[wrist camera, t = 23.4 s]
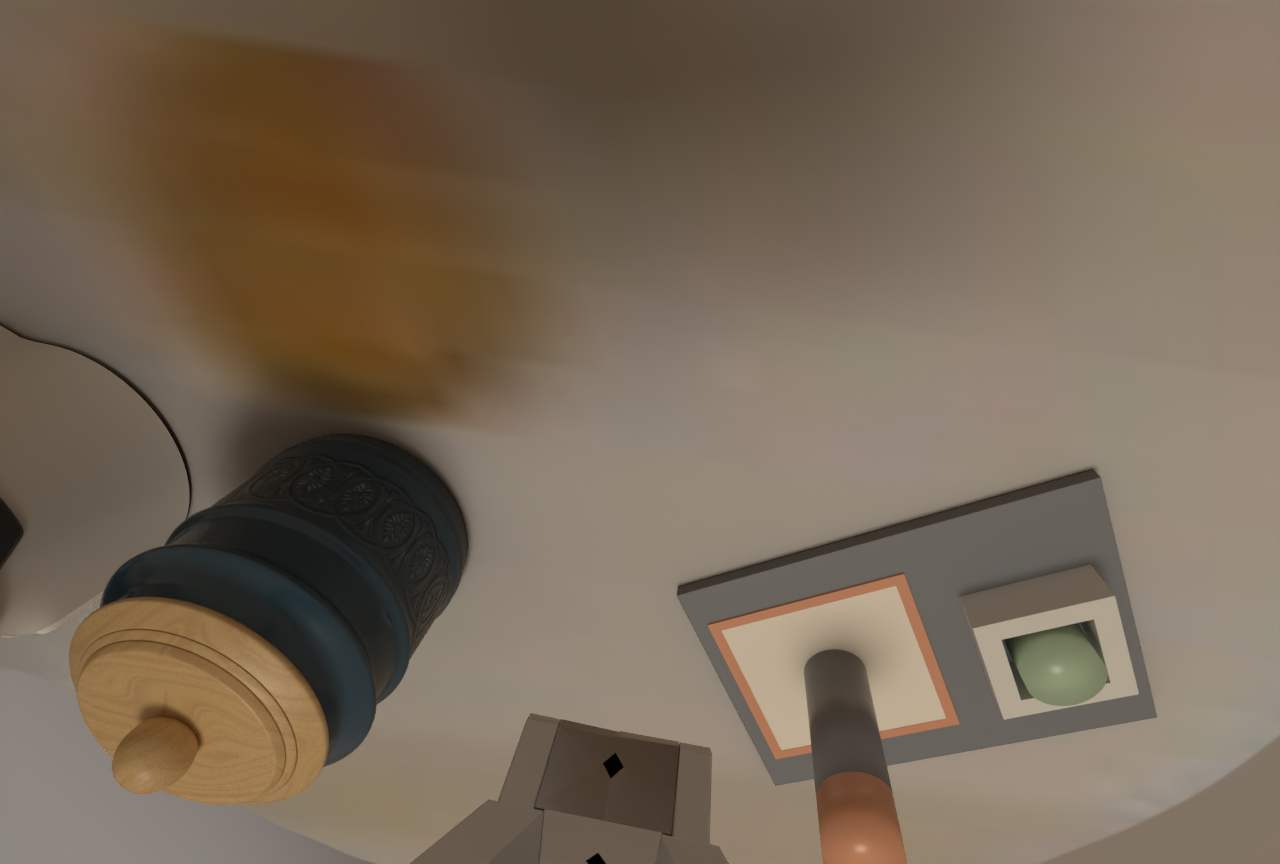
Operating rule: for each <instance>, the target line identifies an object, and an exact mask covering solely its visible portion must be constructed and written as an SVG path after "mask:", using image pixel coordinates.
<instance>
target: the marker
mask: <svg viewBox="0 0 1280 864" xmlns="http://www.w3.org/2000/svg"><path fill="white" fill-rule="evenodd" d="M804 679H805V689H806V699H807V709H808V719H809V729H810V739H811V749H812V759H813V769H814V779H815V789H816V799H817V809H818V820H819V830H820V840H821V850H822V859H823V864H907V859H906V854H905V849H904V845H903V840H902V835H901V831H900V826H899V821H898V817H897V812H896V807H895V803H894V798H893V793H892V789H891V784H890V779H889V774H888V770H887V765H886V760H885V756H884V751H883V746H882V742H881V737H880V732H879V728H878V723H877V718H876V714H875V709H874V704H873V700H872V695H871V690H870V686H869V681H868V676H867V672H866V668H865V665H864V663H863V662H862V661H861V659H860V658H858V657H857V656H856V655H854V654H852V653H850V652H847V651H844V650H837V649H832V650H825V651H821V652H819V653H817V654H815V655H814V656H812V657H811V658H810V659H809V660H808V661H807V663H806V665H805V667H804Z"/></svg>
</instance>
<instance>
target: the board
mask: <svg viewBox="0 0 1280 864" xmlns="http://www.w3.org/2000/svg"><path fill="white" fill-rule="evenodd" d="M677 597H678V599H679V601H680V603H681V605H682V607H683V609H684V611H685V613H686V615H687V616H688V618H689V620H690V622H691V624H692V626H693V628H694V630H695V632H696V634H697V636H698V638H699V640H700V641H701V643H702V645H703V647H704V649H705V651H706V653H707V655H708V657H709V659H710V661H711V663H712V665H713V667H714V668H715V670H716V672H717V674H718V676H719V678H720V680H721V682H722V684H723V686H724V688H725V690H726V692H727V694H728V695H729V697H730V699H731V701H732V703H733V705H734V707H735V709H736V711H737V713H738V715H739V717H740V719H741V720H742V722H743V724H744V726H745V728H746V730H747V732H748V734H749V736H750V738H751V740H752V742H753V744H754V746H755V747H756V749H757V751H758V753H759V755H760V757H761V759H762V761H763V763H764V765H765V767H766V769H767V771H768V772H769V774H770V776H771V778H772V780H773V782H774V784H775V786H776V785H782V784H788V783H793V782H799V781H804V780H810V779H814V769H813V759H812V749H811V739H810V729H809V719H808V709H807V699H806V689H805V679H804V667H805V665H806V663H807V661H808V660H809V659H810V658H811V657H812V656H814V655H815V654H817V653H819V652H821V651H825V650H832V649H837V650H844V651H847V652H850V653H852V654H854V655H856V656H857V657H858V658H860V659H861V661H862V662H863V663H864V665H865V668H866V672H867V676H868V681H869V686H870V690H871V695H872V700H873V704H874V709H875V714H876V718H877V723H878V728H879V732H880V737H881V742H882V746H883V751H884V756H885V760H886V765H887V766H888V765H894V764H899V763H905V762H910V761H916V760H922V759H927V758H933V757H938V756H944V755H950V754H955V753H961V752H966V751H972V750H977V749H983V748H989V747H994V746H1000V745H1005V744H1011V743H1016V742H1022V741H1028V740H1033V739H1039V738H1044V737H1050V736H1056V735H1061V734H1067V733H1072V732H1078V731H1083V730H1089V729H1095V728H1100V727H1106V726H1111V725H1117V724H1123V723H1128V722H1134V721H1139V720H1145V719H1150V718H1156V717H1157V715H1156V711H1155V706H1154V702H1153V698H1152V694H1151V689H1150V685H1149V681H1148V677H1147V672H1146V668H1145V664H1144V660H1143V655H1142V651H1141V647H1140V643H1139V638H1138V634H1137V630H1136V626H1135V621H1134V617H1133V613H1132V609H1131V604H1130V600H1129V596H1128V592H1127V587H1126V583H1125V579H1124V575H1123V570H1122V566H1121V562H1120V558H1119V554H1118V549H1117V545H1116V541H1115V537H1114V532H1113V528H1112V524H1111V520H1110V515H1109V511H1108V507H1107V503H1106V498H1105V494H1104V490H1103V486H1102V481H1101V477H1100V476H1099V475H1098V474H1097V473H1096V472H1095V471H1094V470H1090V471H1086V472H1082V473H1079V474H1075V475H1072V476H1068V477H1065V478H1061V479H1058V480H1054V481H1051V482H1047V483H1044V484H1040V485H1037V486H1033V487H1030V488H1026V489H1023V490H1019V491H1015V492H1012V493H1008V494H1005V495H1001V496H998V497H994V498H991V499H987V500H984V501H980V502H977V503H973V504H970V505H966V506H963V507H959V508H955V509H952V510H948V511H945V512H941V513H938V514H934V515H931V516H927V517H924V518H920V519H917V520H913V521H910V522H906V523H903V524H899V525H895V526H892V527H888V528H885V529H881V530H878V531H874V532H871V533H867V534H864V535H860V536H857V537H853V538H850V539H846V540H843V541H839V542H836V543H832V544H828V545H825V546H821V547H818V548H814V549H811V550H807V551H804V552H800V553H797V554H793V555H790V556H786V557H783V558H779V559H776V560H772V561H768V562H765V563H761V564H758V565H754V566H751V567H747V568H744V569H740V570H737V571H733V572H730V573H726V574H723V575H719V576H716V577H712V578H709V579H705V580H701V581H698V582H694V583H691V584H687V585H684V586H680V587H678V591H677ZM1075 623H1078V625H1079V627H1080V628H1081V630H1082V631H1083V633H1084V634H1085V636H1086V637H1087V639H1088V640H1089V642H1090V643H1091V645H1092V646H1093V648H1094V649H1095V651H1096V653H1097V654H1098V656H1099V657H1100V659H1101V660H1102V662H1103V663H1104V665H1105V667H1106V669H1107V681H1106V683H1105V686H1104V687H1103V689H1102V690H1101V691H1100V692H1099V693H1098V694H1097V695H1096V696H1094V697H1093V698H1091V699H1089V700H1087V701H1085V702H1083V703H1080V704H1076V705H1070V706H1054V705H1049V704H1046V703H1043V702H1041V701H1039V700H1037V699H1035V698H1034V697H1033V696H1032V695H1031V694H1030V693H1029V691H1028V690H1027V688H1026V686H1025V684H1024V682H1023V680H1022V678H1021V675H1020V673H1019V671H1018V669H1017V667H1016V665H1015V663H1014V661H1013V659H1012V657H1011V655H1010V653H1009V651H1008V649H1007V647H1006V645H1005V641H1004V639H1008V638H1012V637H1017V636H1021V635H1026V634H1030V633H1035V632H1039V631H1044V630H1048V629H1053V628H1057V627H1061V626H1066V625H1070V624H1075Z"/></svg>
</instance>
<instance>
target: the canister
mask: <svg viewBox="0 0 1280 864" xmlns="http://www.w3.org/2000/svg"><path fill="white" fill-rule="evenodd" d="M466 557H467V535H466V530H465V525H464V522H463V519H462V516H461V513H460V511H459V509H458V507H457V505H456V503H455V501H454V499H453V498H452V496H451V495H450V493H449V492H448V490H447V489H446V488H445V486H444V485H443V484H442V483H441V481H440V480H439V479H438V478H437V477H436V476H435V475H434V474H433V473H432V472H431V471H430V470H429V469H428V468H427V467H425V466H424V465H423V464H422V463H420V462H419V461H418V460H416V459H415V458H414V457H412V456H411V455H409V454H407V453H406V452H404V451H402V450H400V449H398V448H397V447H394V446H392V445H390V444H388V443H385V442H382V441H380V440H376V439H373V438H369V437H365V436H359V435H351V434H334V435H326V436H321V437H317V438H314V439H311V440H309V441H307V442H303V443H300V444H297V445H294V446H292V447H290V448H288V449H286V450H284V451H282V452H281V453H279V454H278V455H277V456H275V457H274V458H272V459H270V460H269V461H268V462H266V463H265V464H264V465H263V466H262V467H261V468H260V469H259V470H258V471H257V472H256V473H255V475H254V476H253V477H252V478H250V479H249V480H247V481H246V482H245V483H243V484H242V485H240V486H239V487H238V488H236V489H235V490H233V491H232V492H231V493H229V494H228V495H226V496H225V497H224V498H222V499H221V500H219V501H218V502H217V503H215V504H214V505H212V506H211V507H210V508H207V509H204V510H202V511H200V512H197V513H195V514H194V515H192V516H190V517H188V518H187V519H186V520H184V521H183V522H182V523H181V524H180V525H179V526H178V527H176V528H175V530H174V531H173V532H172V533H171V535H170V536H169V538H168V539H167V541H166V543H165V545H164V546H161V547H156V548H153V549H150V550H147V551H144V552H142V553H140V554H138V555H136V556H134V557H133V558H131V559H129V560H128V561H126V562H125V563H124V564H122V565H121V566H120V567H119V568H118V569H117V570H116V571H115V573H114V574H113V575H112V577H111V578H110V580H109V581H108V583H107V584H106V587H105V589H104V591H103V594H102V598H101V603H100V608H99V609H97V610H96V611H94V612H93V613H91V614H90V615H89V616H88V617H87V618H86V619H85V620H84V621H83V622H82V623H81V624H80V626H79V627H78V629H77V630H76V632H75V634H74V636H73V638H72V642H71V645H70V652H69V665H70V672H71V677H72V681H73V684H74V687H75V689H76V692H77V697H78V703H79V707H80V711H81V714H82V716H83V718H84V721H85V723H86V725H87V726H88V728H89V730H90V731H91V733H92V734H93V736H94V737H95V739H96V740H97V741H98V742H99V743H100V745H101V746H102V747H103V748H104V749H105V750H106V751H107V752H108V753H109V754H110V755H111V756H112V757H113V761H112V771H113V776H114V778H115V780H116V781H117V782H118V783H119V784H120V786H122V787H123V788H124V789H126V790H128V791H130V792H133V793H137V794H150V793H154V792H158V791H161V790H162V791H165V792H167V793H169V794H172V795H175V796H178V797H180V798H184V799H187V800H191V801H195V802H200V803H206V804H217V805H225V804H226V805H227V804H236V803H245V804H260V803H269V802H275V801H280V800H283V799H286V798H289V797H292V796H294V795H296V794H298V793H300V792H301V791H303V790H304V789H306V788H307V787H308V786H309V785H310V784H311V783H312V782H313V781H314V780H315V779H316V778H317V777H318V775H319V774H320V772H321V771H322V769H323V767H325V766H328V765H331V764H333V763H335V762H337V761H339V760H341V759H343V758H345V757H346V756H348V755H349V754H350V753H352V752H353V751H354V750H355V749H356V748H357V747H358V746H359V745H360V744H361V743H362V742H363V740H364V739H365V737H366V736H367V734H368V732H369V730H370V728H371V726H372V724H373V721H374V717H375V713H376V705H377V704H378V703H380V702H381V701H383V700H384V699H385V698H387V697H388V696H389V695H390V694H391V693H392V692H393V691H394V690H395V688H396V687H397V686H398V685H399V683H400V682H401V680H402V678H403V676H404V674H405V672H406V670H407V667H408V664H409V660H410V658H411V657H412V655H413V654H414V652H415V650H416V649H417V647H418V646H419V644H420V642H421V641H422V639H423V638H424V636H425V634H426V633H427V631H428V630H429V628H430V627H431V625H432V623H433V622H434V620H435V619H436V618H437V617H438V616H439V615H440V614H441V613H442V612H443V611H444V610H445V609H446V607H447V606H448V604H449V602H450V600H451V599H452V597H453V596H454V594H455V592H456V590H457V588H458V586H459V583H460V580H461V577H462V572H463V569H464V566H465V562H466Z"/></svg>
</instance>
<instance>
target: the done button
mask: <svg viewBox="0 0 1280 864" xmlns="http://www.w3.org/2000/svg"><path fill="white" fill-rule="evenodd" d="M1004 641H1005V645H1006V647H1007V649H1008V651H1009V653H1010V655H1011V657H1012V659H1013V661H1014V663H1015V665H1016V667H1017V669H1018V671H1019V673H1020V675H1021V678H1022V680H1023V682H1024V684H1025V686H1026V688H1027V690H1028V691H1029V693H1030V694H1031V695H1032V696H1033V697H1034V698H1035V699H1037V700H1039V701H1041V702H1043V703H1046V704H1049V705H1054V706H1070V705H1076V704H1080V703H1083V702H1085V701H1087V700H1089V699H1091V698H1093V697H1094V696H1096V695H1097V694H1098V693H1099V692H1100V691H1101V690H1102V689H1103V687H1104V686H1105V683H1106V681H1107V669H1106V667H1105V665H1104V663H1103V662H1102V660H1101V659H1100V657H1099V656H1098V654H1097V653H1096V651H1095V649H1094V648H1093V646H1092V645H1091V643H1090V642H1089V640H1088V639H1087V637H1086V636H1085V634H1084V633H1083V631H1082V630H1081V628H1080V627H1079V625H1078V623H1075V624H1070V625H1066V626H1061V627H1057V628H1053V629H1048V630H1044V631H1039V632H1035V633H1030V634H1026V635H1021V636H1017V637H1012V638H1008V639H1004Z"/></svg>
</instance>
